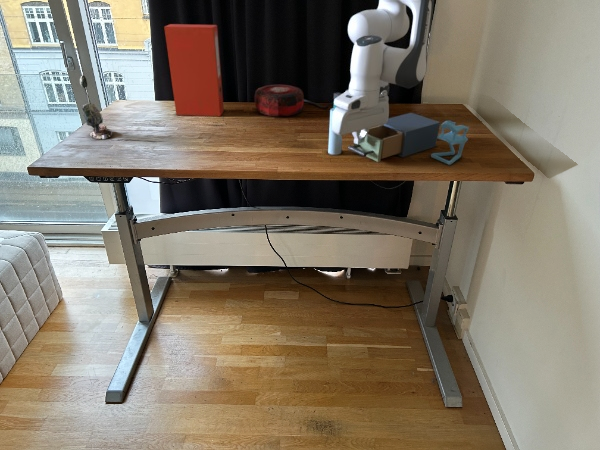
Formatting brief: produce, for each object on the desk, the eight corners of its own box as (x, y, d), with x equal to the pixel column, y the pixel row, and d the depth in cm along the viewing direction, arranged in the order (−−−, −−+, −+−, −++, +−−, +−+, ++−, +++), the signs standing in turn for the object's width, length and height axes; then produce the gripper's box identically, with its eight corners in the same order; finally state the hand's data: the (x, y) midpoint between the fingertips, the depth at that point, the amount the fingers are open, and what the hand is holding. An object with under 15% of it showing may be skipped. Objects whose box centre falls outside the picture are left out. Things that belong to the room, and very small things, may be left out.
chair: (466, 159, 137) (475, 122, 131) (449, 165, 133) (457, 127, 127) (447, 151, 143) (455, 115, 136) (430, 156, 139) (437, 120, 132)
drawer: (367, 165, 130) (369, 144, 127) (342, 153, 138) (344, 133, 134) (411, 151, 140) (414, 131, 137) (386, 140, 148) (388, 121, 144)
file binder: (181, 109, 177) (170, 23, 160) (223, 110, 177) (217, 24, 160) (176, 115, 170) (164, 26, 153) (220, 116, 170) (212, 27, 153)
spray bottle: (325, 151, 141) (328, 92, 131) (335, 148, 143) (339, 90, 133) (333, 155, 138) (337, 96, 128) (343, 153, 140) (348, 94, 130)
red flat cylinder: (313, 111, 177) (281, 100, 189) (314, 90, 173) (280, 80, 185) (277, 121, 165) (244, 109, 177) (277, 99, 161) (243, 88, 173)
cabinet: (402, 157, 138) (406, 132, 133) (374, 145, 146) (377, 121, 142) (435, 146, 146) (440, 122, 142) (407, 135, 155) (411, 112, 150)
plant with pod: (81, 142, 145) (64, 81, 134) (95, 130, 154) (81, 72, 144) (105, 142, 145) (90, 81, 134) (118, 131, 154) (105, 73, 144)
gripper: (381, 89, 132) (376, 133, 140) (329, 100, 122) (327, 146, 129) (396, 94, 128) (390, 138, 135) (344, 105, 118) (341, 153, 125)
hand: (359, 142), depth 132 cm, fingers closed
